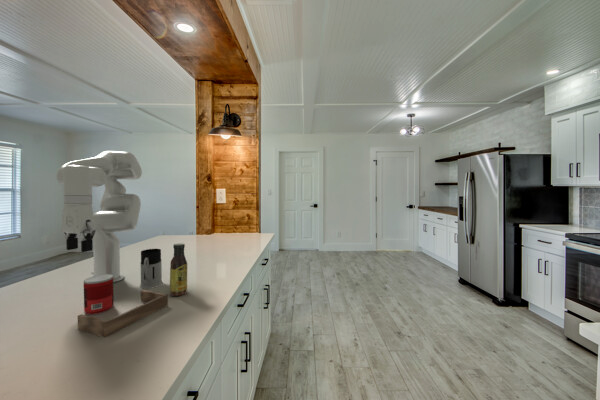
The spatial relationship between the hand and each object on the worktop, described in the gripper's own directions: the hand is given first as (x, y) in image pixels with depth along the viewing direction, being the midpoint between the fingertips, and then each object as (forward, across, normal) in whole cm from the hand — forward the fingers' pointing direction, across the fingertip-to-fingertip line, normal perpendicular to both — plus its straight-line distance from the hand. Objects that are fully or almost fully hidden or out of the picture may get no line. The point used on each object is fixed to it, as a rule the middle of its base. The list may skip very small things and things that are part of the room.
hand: (79, 249), depth 90 cm
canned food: (+20, +10, 0) cm, 22 cm away
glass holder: (+20, +8, +21) cm, 30 cm away
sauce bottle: (+20, +25, +20) cm, 38 cm away
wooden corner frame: (+20, +23, 0) cm, 30 cm away
